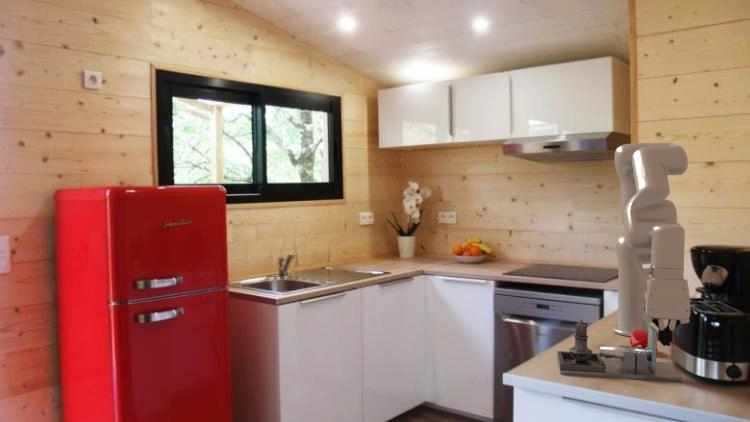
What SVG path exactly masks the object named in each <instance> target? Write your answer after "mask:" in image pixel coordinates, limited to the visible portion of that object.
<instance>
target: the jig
mask: <svg viewBox="0 0 750 422" xmlns="http://www.w3.org/2000/svg"><path fill="white" fill-rule="evenodd" d="M619 347H621V348H639V349H642V347H641V346H640V345H638V346H631V345H619ZM556 354H557V355H556V360H557V365H558V369H559V374H560V375H571V376H572V375H573V376H586V377H600V378H613V377H615V378H616V379H628V378H629V380H630V379H631V380H645V381H660V382H661V381H662V382H673V383H674V382H675V383H677V382H678V383H682V378H683V377H681V375H680V374H679V372H678V371H677V370H676V369H675V368H674V366H673V365H672V364H671V363H670V362H669V361H668V362H666V361H656V370H652V369H651V368H650V366H649V365H648V363H647V354H646V353H636V352H635V354H634V352H624V359H607V358H600V352H598V353H596V352H595V353H594V352H592V353H591V357H590V359H588V360H587V361H588V362H590V363H591V364H575V363H570V362H571V361H572V360H575V359H573V358H572V356H571V354H570V351H560V350H557V353H556Z"/></svg>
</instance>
